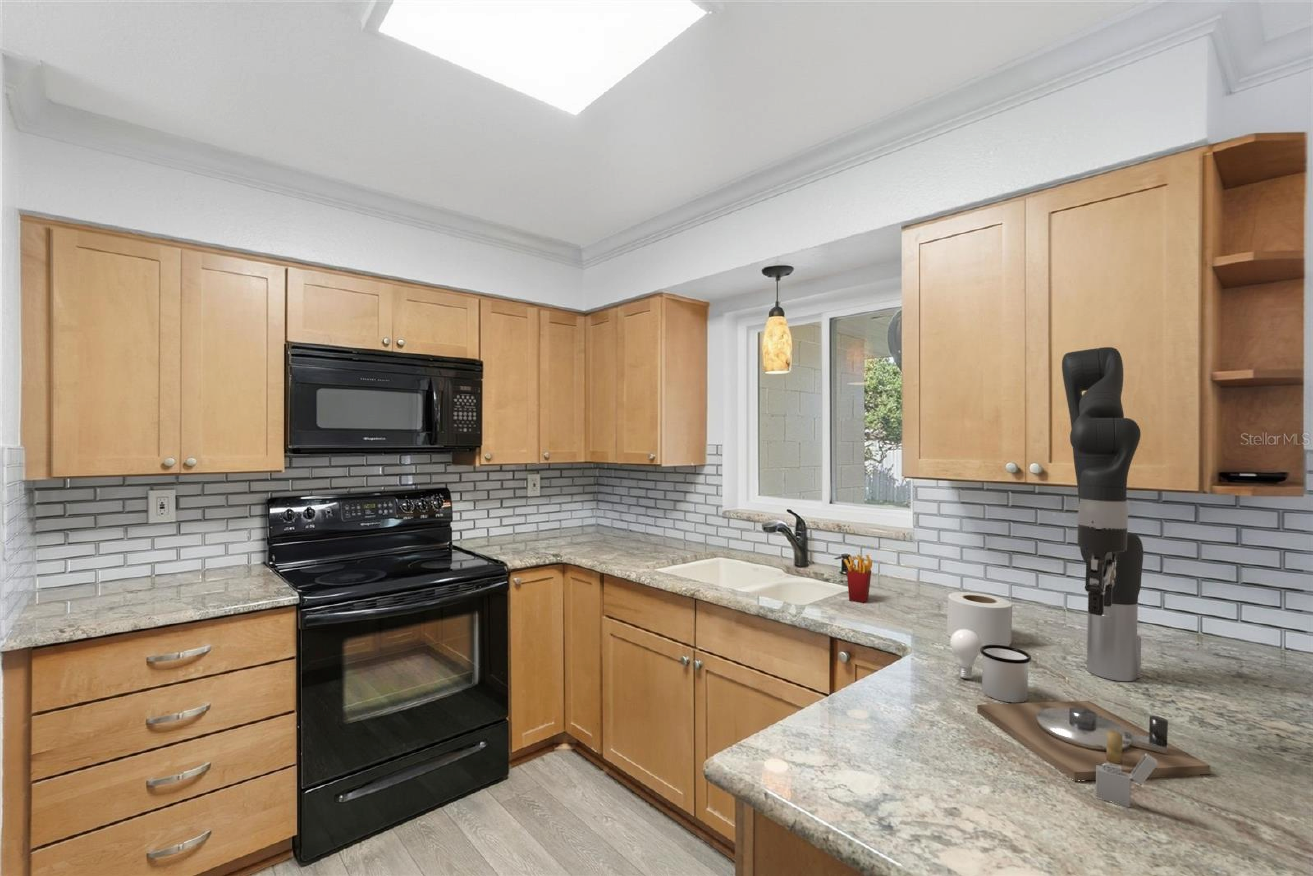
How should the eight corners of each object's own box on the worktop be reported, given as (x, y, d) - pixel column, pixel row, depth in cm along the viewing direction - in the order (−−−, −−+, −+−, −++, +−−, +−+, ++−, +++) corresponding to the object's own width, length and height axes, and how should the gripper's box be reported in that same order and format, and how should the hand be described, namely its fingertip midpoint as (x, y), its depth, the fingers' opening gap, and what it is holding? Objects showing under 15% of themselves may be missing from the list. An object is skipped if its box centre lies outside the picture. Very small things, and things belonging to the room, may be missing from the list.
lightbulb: (985, 685, 133) (986, 635, 133) (953, 682, 134) (954, 633, 134) (976, 674, 139) (977, 626, 139) (946, 672, 140) (947, 624, 140)
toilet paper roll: (998, 631, 171) (999, 593, 171) (1021, 650, 156) (1022, 608, 156) (939, 627, 174) (940, 589, 174) (956, 645, 158) (957, 604, 158)
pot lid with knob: (1035, 735, 107) (1035, 707, 107) (1037, 706, 119) (1038, 681, 119) (1173, 769, 97) (1174, 738, 97) (1161, 734, 108) (1161, 706, 108)
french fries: (866, 604, 196) (867, 558, 196) (840, 600, 201) (841, 554, 200) (873, 598, 203) (874, 553, 203) (848, 594, 208) (849, 550, 208)
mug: (1023, 709, 121) (1024, 664, 121) (972, 694, 128) (973, 651, 128) (1039, 692, 130) (1039, 649, 130) (990, 679, 137) (991, 638, 136)
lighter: (1095, 798, 91) (1096, 745, 91) (1095, 792, 93) (1096, 740, 93) (1156, 815, 87) (1157, 760, 87) (1155, 809, 89) (1156, 755, 89)
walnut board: (1088, 708, 122) (1089, 678, 122) (1210, 774, 98) (1210, 737, 98) (977, 712, 120) (977, 682, 120) (1074, 781, 96) (1075, 743, 96)
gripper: (1086, 518, 122) (1084, 599, 122) (1070, 524, 112) (1067, 613, 112) (1133, 523, 117) (1131, 607, 117) (1120, 530, 107) (1118, 622, 107)
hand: (1100, 610), depth 114 cm, fingers open, 8 cm apart
